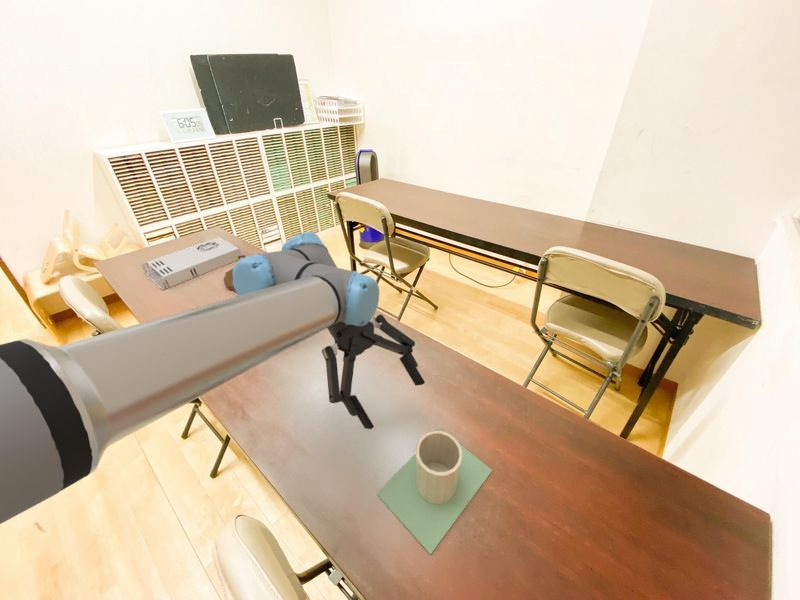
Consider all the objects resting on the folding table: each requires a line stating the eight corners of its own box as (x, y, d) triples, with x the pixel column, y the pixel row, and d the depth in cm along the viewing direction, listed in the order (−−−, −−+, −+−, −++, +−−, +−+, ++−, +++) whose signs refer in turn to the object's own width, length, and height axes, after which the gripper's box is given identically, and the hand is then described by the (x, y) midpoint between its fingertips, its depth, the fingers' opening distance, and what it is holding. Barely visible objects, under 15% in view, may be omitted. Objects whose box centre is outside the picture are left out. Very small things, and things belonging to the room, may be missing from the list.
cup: (439, 514, 61) (442, 486, 54) (406, 481, 66) (406, 452, 59) (465, 481, 65) (471, 451, 59) (433, 453, 70) (435, 422, 64)
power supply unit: (145, 274, 135) (140, 264, 132) (223, 246, 155) (219, 236, 152) (162, 290, 125) (156, 279, 122) (242, 258, 145) (239, 248, 142)
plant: (218, 278, 131) (208, 253, 125) (264, 261, 142) (257, 238, 135) (236, 299, 119) (226, 273, 113) (285, 279, 130) (278, 254, 123)
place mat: (430, 555, 56) (430, 554, 56) (376, 494, 64) (376, 493, 64) (492, 471, 67) (492, 470, 67) (439, 428, 75) (440, 427, 75)
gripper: (379, 288, 71) (428, 370, 72) (275, 345, 57) (336, 447, 57) (395, 277, 65) (448, 366, 65) (283, 337, 51) (352, 451, 51)
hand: (396, 404), depth 61 cm, fingers open, 13 cm apart
